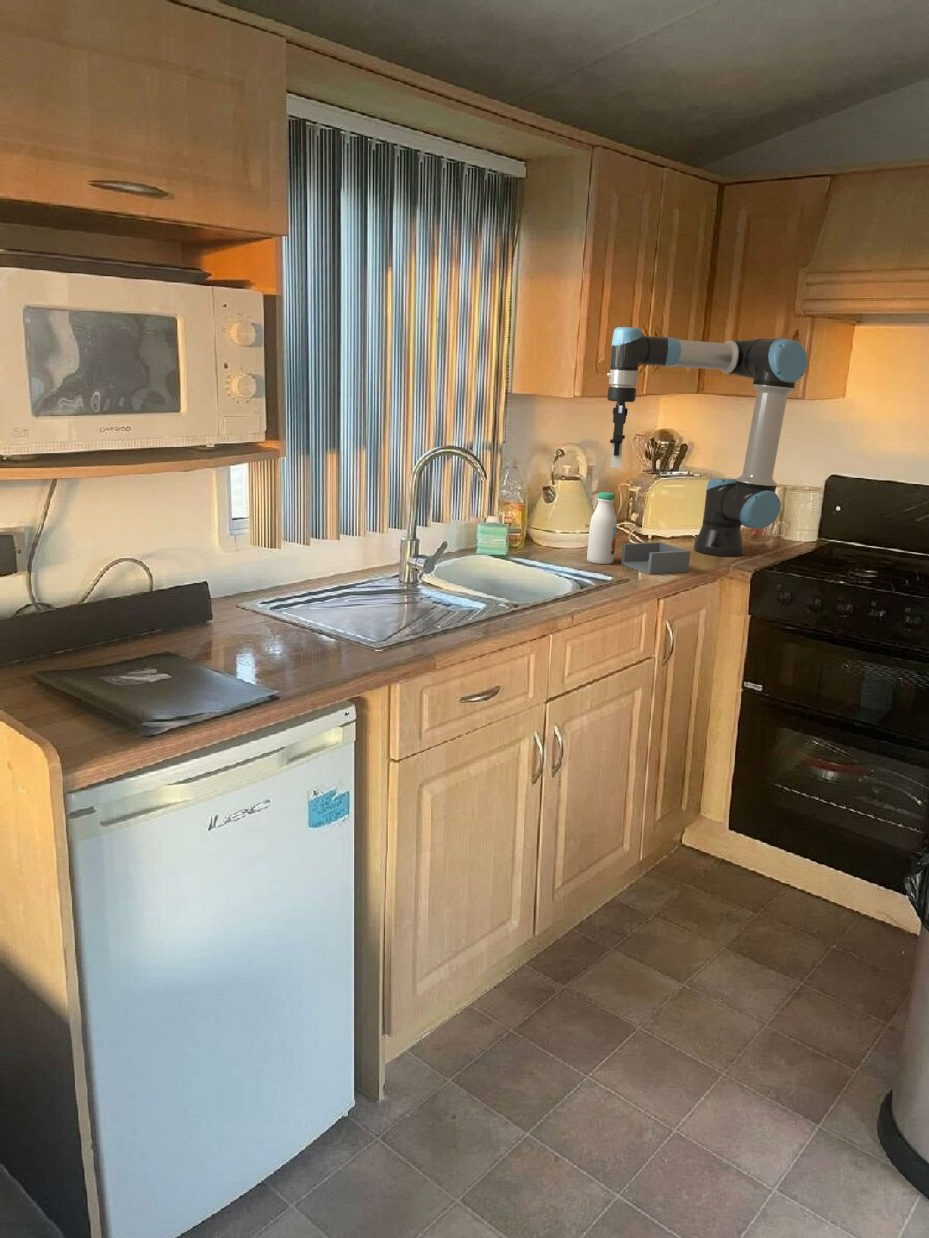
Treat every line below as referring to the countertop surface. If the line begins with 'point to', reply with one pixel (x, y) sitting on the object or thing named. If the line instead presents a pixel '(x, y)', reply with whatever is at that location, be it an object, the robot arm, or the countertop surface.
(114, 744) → the countertop surface
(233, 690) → the countertop surface
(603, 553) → the milk bottle
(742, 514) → the robot arm
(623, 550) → the tray
